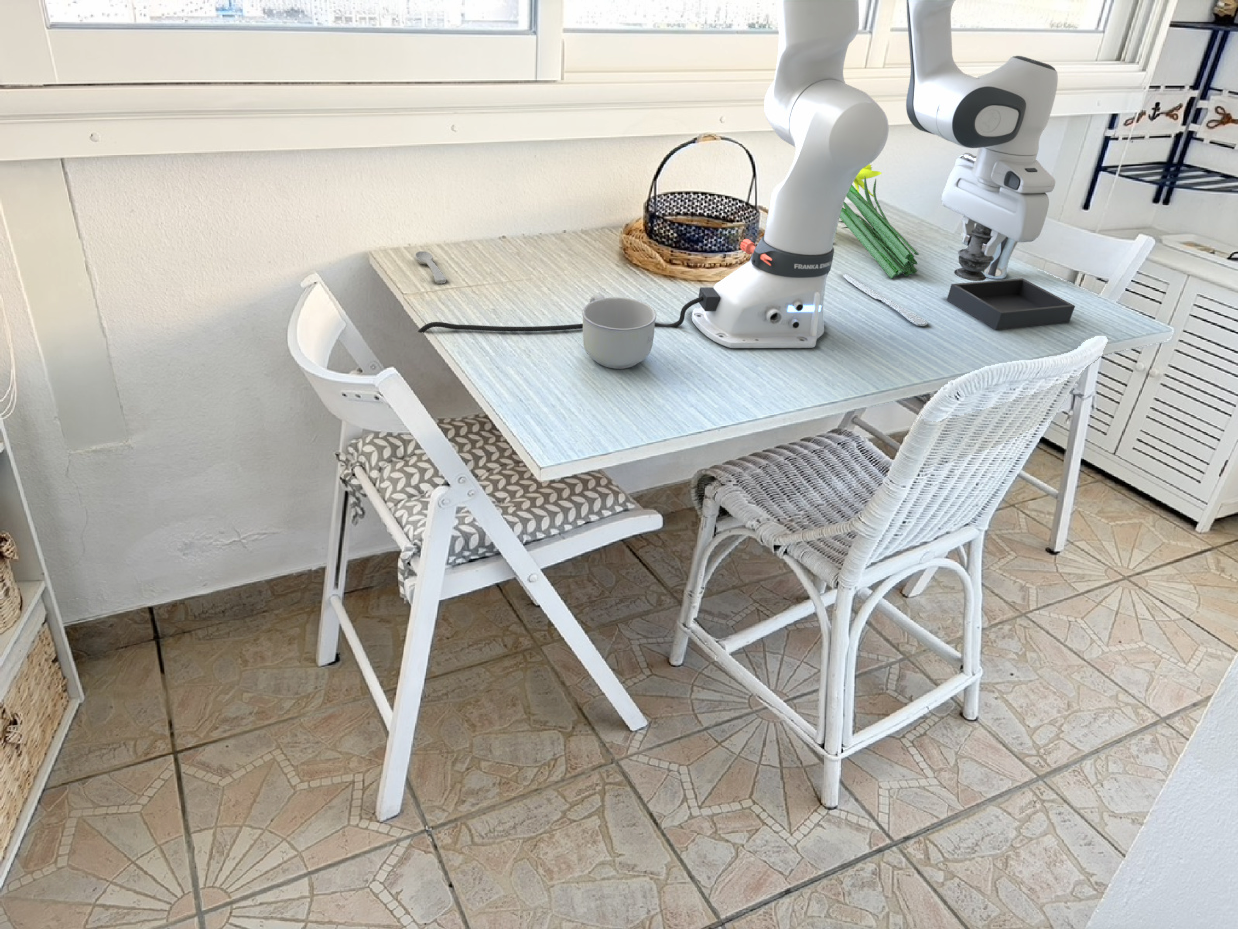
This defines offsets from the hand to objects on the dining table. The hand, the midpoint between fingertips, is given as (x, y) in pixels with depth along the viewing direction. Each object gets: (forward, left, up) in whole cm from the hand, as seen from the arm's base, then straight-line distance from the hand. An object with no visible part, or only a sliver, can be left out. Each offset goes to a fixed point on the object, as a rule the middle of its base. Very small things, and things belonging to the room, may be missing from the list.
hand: (977, 249), depth 155 cm
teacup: (-65, +1, -14) cm, 67 cm away
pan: (+15, +3, -14) cm, 20 cm away
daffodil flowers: (+6, +36, -14) cm, 39 cm away
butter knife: (-7, +12, -14) cm, 20 cm away
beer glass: (+26, +20, -14) cm, 36 cm away
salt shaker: (0, 0, -5) cm, 5 cm away
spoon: (-84, +39, -14) cm, 94 cm away
